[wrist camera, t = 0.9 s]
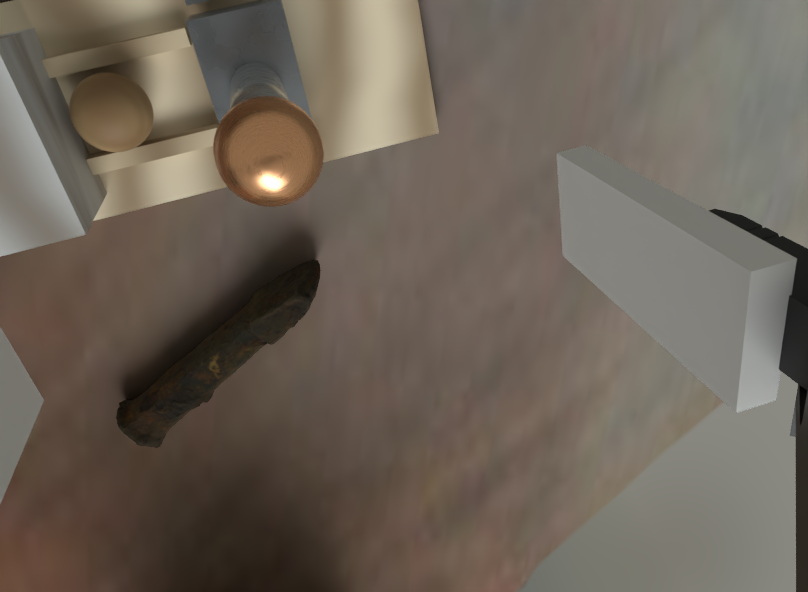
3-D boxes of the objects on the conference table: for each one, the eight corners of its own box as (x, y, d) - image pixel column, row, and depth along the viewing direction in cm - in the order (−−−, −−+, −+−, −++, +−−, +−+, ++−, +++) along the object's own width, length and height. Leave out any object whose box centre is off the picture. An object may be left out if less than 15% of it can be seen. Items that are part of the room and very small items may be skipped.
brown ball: (96, 149, 40) (82, 169, 36) (64, 76, 37) (46, 90, 34) (167, 132, 40) (161, 150, 36) (141, 59, 38) (130, 70, 34)
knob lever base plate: (28, 230, 42) (-15, 288, 35) (-82, 20, 36) (-162, 37, 28) (432, 127, 45) (471, 161, 38) (399, -82, 39) (438, -91, 32)
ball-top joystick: (243, 177, 42) (253, 333, 25) (177, -27, 36) (129, -10, 19) (317, 159, 43) (377, 298, 25) (264, -45, 37) (296, -46, 19)
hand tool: (157, 426, 52) (152, 465, 48) (117, 398, 50) (108, 436, 46) (338, 280, 50) (348, 309, 46) (304, 245, 48) (312, 272, 44)
